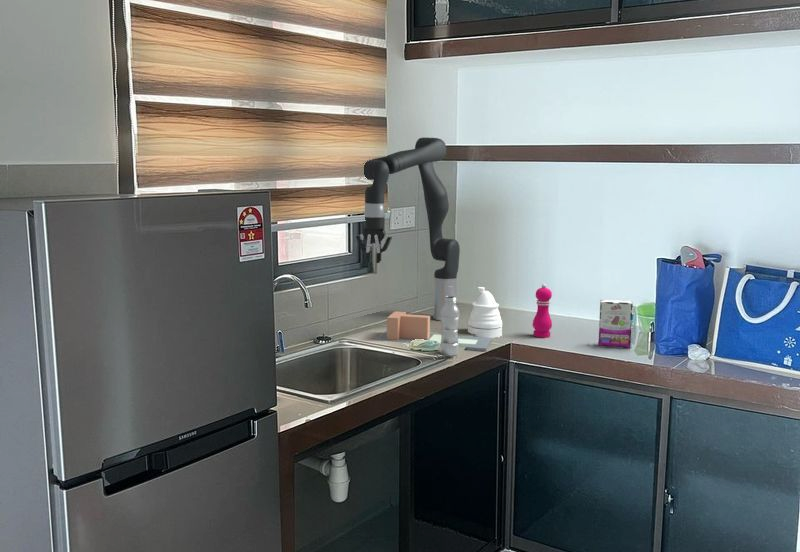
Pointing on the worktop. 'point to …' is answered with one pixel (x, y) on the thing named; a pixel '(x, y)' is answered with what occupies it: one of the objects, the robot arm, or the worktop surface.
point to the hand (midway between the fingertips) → (373, 262)
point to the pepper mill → (542, 313)
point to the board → (463, 341)
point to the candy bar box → (615, 323)
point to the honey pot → (485, 316)
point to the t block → (408, 326)
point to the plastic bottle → (449, 328)
